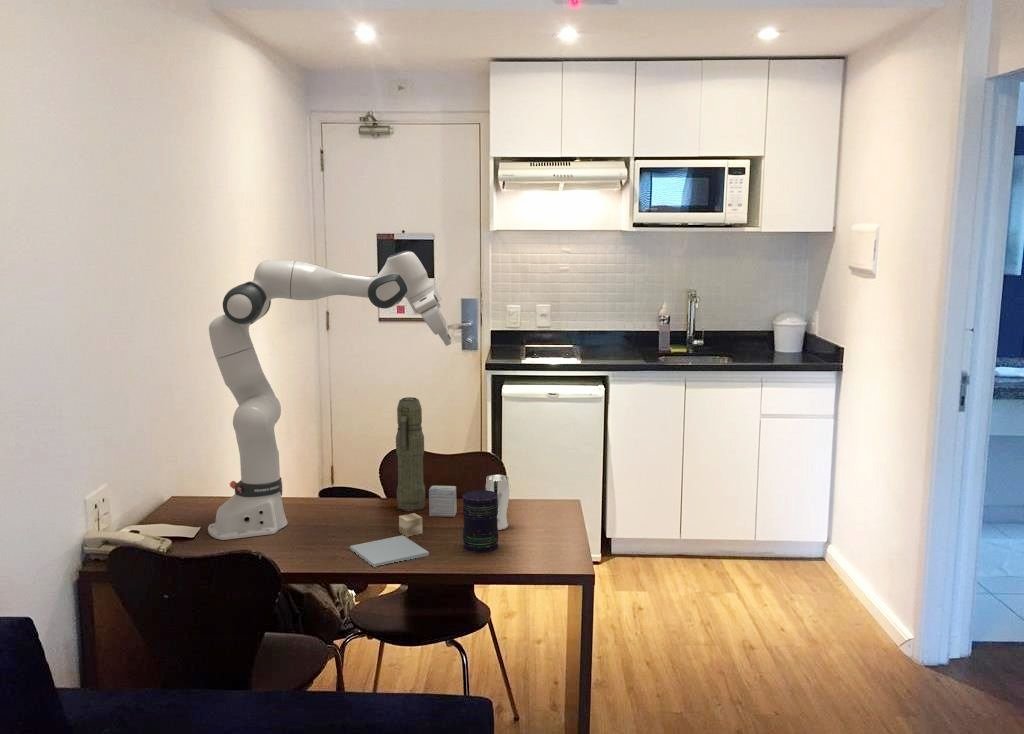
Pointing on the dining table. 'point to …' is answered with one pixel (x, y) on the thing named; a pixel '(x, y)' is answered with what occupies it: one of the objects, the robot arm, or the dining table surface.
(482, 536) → the storage jar
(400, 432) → the thermos
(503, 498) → the beer glass
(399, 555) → the mat
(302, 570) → the dining table surface
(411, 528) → the birch cube
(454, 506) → the medicine box
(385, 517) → the dining table surface
